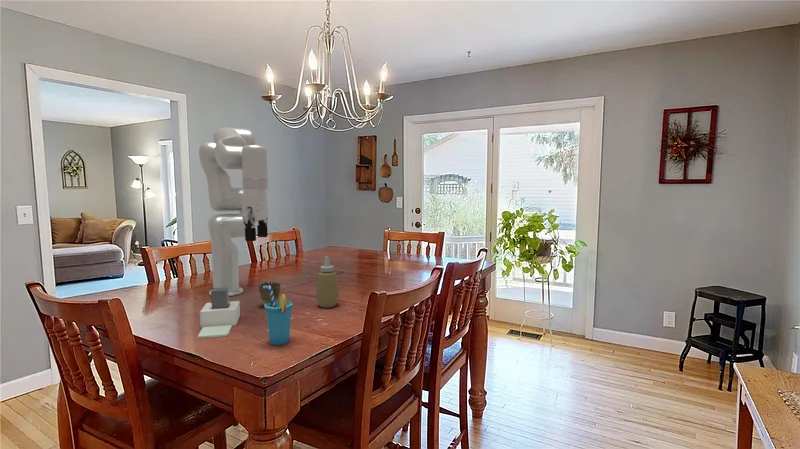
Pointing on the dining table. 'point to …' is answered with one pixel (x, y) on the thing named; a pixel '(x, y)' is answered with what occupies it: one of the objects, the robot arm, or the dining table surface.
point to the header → (220, 315)
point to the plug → (220, 298)
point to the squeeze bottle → (327, 285)
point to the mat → (215, 331)
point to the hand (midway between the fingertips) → (256, 238)
